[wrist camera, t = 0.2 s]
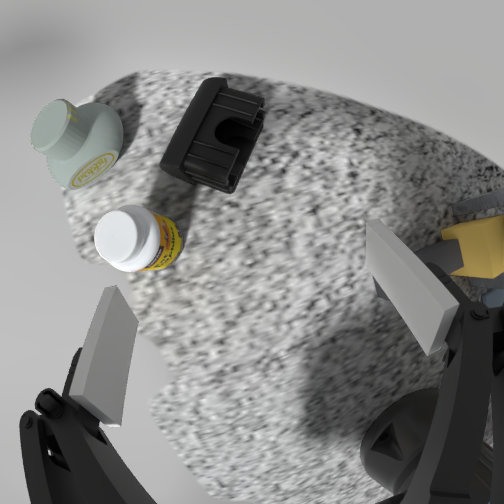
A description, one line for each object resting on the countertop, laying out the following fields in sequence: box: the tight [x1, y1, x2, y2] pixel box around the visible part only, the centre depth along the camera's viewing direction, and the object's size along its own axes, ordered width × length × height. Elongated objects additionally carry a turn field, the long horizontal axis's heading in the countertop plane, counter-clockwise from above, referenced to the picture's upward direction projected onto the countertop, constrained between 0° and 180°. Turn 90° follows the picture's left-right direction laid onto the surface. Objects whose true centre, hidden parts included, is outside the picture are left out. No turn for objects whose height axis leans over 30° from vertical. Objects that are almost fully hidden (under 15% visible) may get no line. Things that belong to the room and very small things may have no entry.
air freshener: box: [31, 99, 123, 190], centre depth 25 cm, size 11×8×10 cm
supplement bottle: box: [94, 205, 183, 272], centre depth 25 cm, size 6×6×10 cm
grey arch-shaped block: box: [452, 188, 504, 290], centre depth 22 cm, size 10×4×11 cm, turn 18°
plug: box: [373, 215, 504, 301], centre depth 24 cm, size 6×14×8 cm, turn 108°
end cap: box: [160, 77, 265, 194], centre depth 26 cm, size 10×7×7 cm
